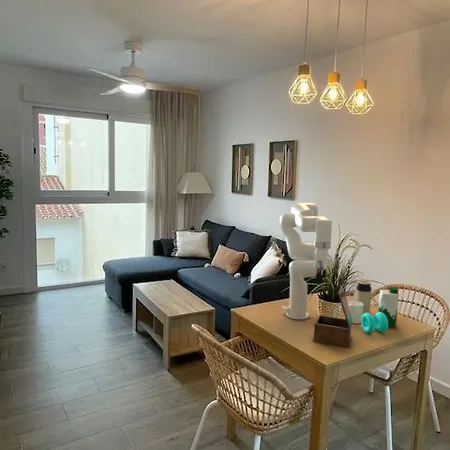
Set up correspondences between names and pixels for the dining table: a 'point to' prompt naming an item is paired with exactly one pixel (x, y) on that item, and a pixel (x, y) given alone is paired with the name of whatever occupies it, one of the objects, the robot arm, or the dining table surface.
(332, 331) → the chest
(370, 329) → the turquoise yo-yo
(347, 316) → the lid
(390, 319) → the milk carton
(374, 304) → the dining table surface
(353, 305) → the white cup
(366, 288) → the travel mug
